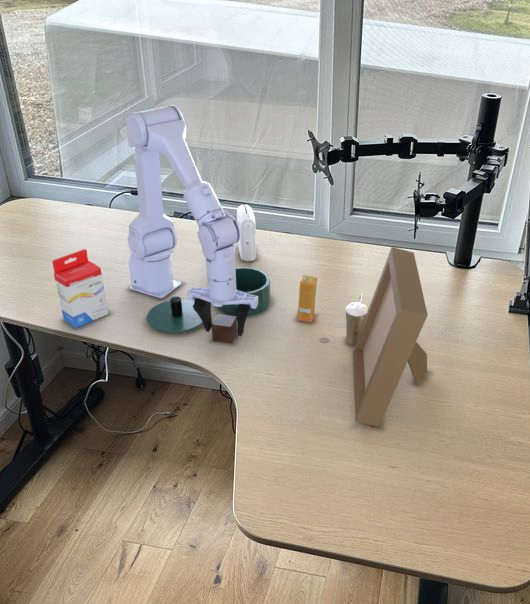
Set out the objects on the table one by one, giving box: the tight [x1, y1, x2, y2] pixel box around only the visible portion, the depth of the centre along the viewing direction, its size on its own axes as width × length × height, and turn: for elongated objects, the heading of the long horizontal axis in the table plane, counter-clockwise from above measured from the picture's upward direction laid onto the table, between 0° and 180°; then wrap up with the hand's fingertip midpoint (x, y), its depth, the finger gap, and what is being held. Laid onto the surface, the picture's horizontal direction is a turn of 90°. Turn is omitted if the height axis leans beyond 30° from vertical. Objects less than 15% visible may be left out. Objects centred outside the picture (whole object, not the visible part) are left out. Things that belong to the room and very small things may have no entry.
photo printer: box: [236, 204, 257, 262], centre depth 169 cm, size 10×4×12 cm, turn 10°
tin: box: [216, 266, 271, 317], centre depth 150 cm, size 12×12×6 cm
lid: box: [146, 296, 203, 334], centre depth 144 cm, size 13×13×5 cm
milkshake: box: [345, 293, 369, 346], centre depth 137 cm, size 4×5×10 cm
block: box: [211, 313, 238, 344], centre depth 139 cm, size 4×4×4 cm
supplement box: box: [297, 274, 318, 323], centre depth 144 cm, size 3×3×10 cm
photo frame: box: [352, 246, 428, 428], centre depth 120 cm, size 15×22×25 cm
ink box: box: [52, 248, 109, 329], centre depth 141 cm, size 8×5×15 cm, turn 137°
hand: (224, 331), depth 139 cm, fingers open, 6 cm apart
